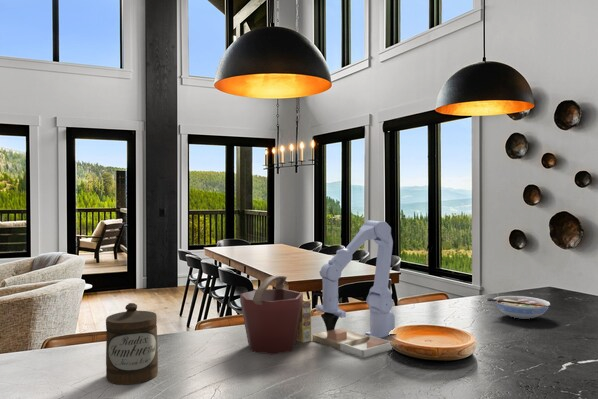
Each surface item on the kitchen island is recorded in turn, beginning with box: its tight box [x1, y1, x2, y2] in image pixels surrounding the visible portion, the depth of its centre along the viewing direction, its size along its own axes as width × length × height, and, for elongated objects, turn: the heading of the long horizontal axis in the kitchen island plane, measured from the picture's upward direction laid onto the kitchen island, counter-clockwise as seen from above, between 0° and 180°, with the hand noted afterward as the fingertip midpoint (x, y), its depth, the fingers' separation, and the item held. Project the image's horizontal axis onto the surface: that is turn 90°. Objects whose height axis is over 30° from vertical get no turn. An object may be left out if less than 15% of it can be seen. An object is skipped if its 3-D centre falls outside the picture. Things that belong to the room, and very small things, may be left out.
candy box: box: [296, 297, 312, 344], centre depth 191 cm, size 9×4×15 cm, turn 33°
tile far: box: [326, 328, 347, 341], centre depth 186 cm, size 5×5×2 cm
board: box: [311, 327, 369, 351], centre depth 189 cm, size 15×15×2 cm
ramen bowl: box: [486, 295, 552, 320], centre depth 222 cm, size 25×23×8 cm
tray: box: [339, 334, 393, 359], centre depth 179 cm, size 15×11×2 cm
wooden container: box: [105, 302, 159, 385], centre depth 154 cm, size 15×15×22 cm
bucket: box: [239, 275, 304, 355], centre depth 182 cm, size 24×22×25 cm
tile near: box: [367, 338, 387, 348], centre depth 179 cm, size 5×5×2 cm
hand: (330, 333), depth 188 cm, fingers closed
